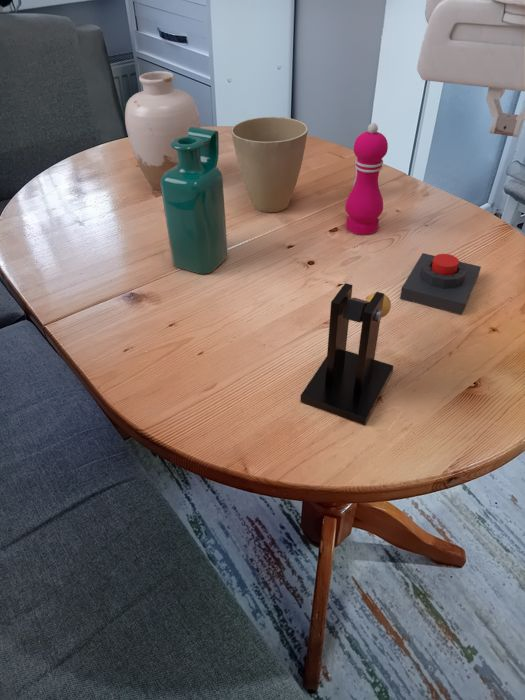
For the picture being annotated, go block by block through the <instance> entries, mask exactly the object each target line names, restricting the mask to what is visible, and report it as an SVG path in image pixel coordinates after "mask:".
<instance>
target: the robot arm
mask: <svg viewBox="0 0 525 700" xmlns="http://www.w3.org/2000/svg"><path fill="white" fill-rule="evenodd" d="M424 15H425V21H426V23H427V26H426V29H425V32H424V36H423V39H422V42H421V47H420V51H419V55H418V59H417V64H416V70H417V72H418V74H419V77H420V78H421V80H422V81H426V82H435V83H444V84H453V85H454V84H455V85H462V86H471V87H472V86H473V87H480V88H481V87H482V88H487V93H486V96H485V100H486V103H487V106H488V109H489V112H490V115H491V117H492V119H491V123H490V127H489V134H493V135H501V136H502V135H503V136H506V137H507V136H508V137H515V138H519V135H520V133H521V130H522V128H523V124H524V121H525V107H523V108H522V110H521V111H520V112H519V113H518V114H516V113H514V114H513V113H507V112H503V108H502V106H501V102H500V100H501V99H502V97H503V96H504V94H505V90H507V91H517V92H525V0H426V5H425V11H424ZM523 102H524V103H525V100H524V101H523Z"/></svg>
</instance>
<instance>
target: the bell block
mask: <svg viewBox="0 0 525 700" xmlns="http://www.w3.org/2000/svg"><path fill="white" fill-rule="evenodd" d="M435 256H436V255H432V254H428V253H423V252H422V253H421V255H420V257H419V258H418V260H417V261H416V263H415V265H414V267H413V268H412V270H411V272H409V275H408V277H406V280H405V281H404V283H403V285H402V286H401V290H400V296H399V299H400V300H404V301H408V302H412V303H416V304H419V305H423V306H427V307H431V308H434V309H438V310H442V311H445V312H448V313H452V314H456V315H460V316H462V315H463V314H464V311H465V309H466V306H467V305H468V302H469V299H470V298H471V295H472V293H473V290H474V289H475V285H476V283H477V281H478V278H479V275H480V272H481V268H482V266H480V265H476V264H472V263H467V262H463V261H460V260H459V265H458V269H457V272H456V273H455V274H453V275H442V274H438V273H436V272H434V271H433V270H432V263H433V258H434V257H435Z"/></svg>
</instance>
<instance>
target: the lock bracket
mask: <svg viewBox="0 0 525 700" xmlns="http://www.w3.org/2000/svg"><path fill="white" fill-rule="evenodd" d="M353 286H354V285H353V284H350V283H347V282H346V283H344V284H343V285H342V287H340V290H339V291H338V292H337V293H336V295H335V296H334V298H333V299H332V300H331V301H330V313H329V324H328V325H329V326H328V337H327V338H328V340H327V353H326V356H325V358H324V360H323V361H322V363H321V364H320V366H319V367H318V369H317V370H316V372H315V373H314V374H313V376H312V378H311V379H310V380H309V382H308V383H307V385H306V387H305V388H304V390H303V391H302V392H301V393H300V400H299V401H300V402H301V404H305V405H308V406H309V407H312V408H316V409H318V410H321V411H324V412H327V413H329V414H331V415H335V416H338V417H340V418H343V419H345V420H349V421H351V422H355V423H357V424H359V425H362V426H366V425H367V423H368V421H369V419H370V417H371V415H372V414H373V411H374V410H375V407H376V405H377V403H378V402H379V399H380V397H381V396H382V394H383V392H384V391H385V388H386V386H387V384H388V383H389V380H390V378H391V376H392V374H393V372H394V367H395V365H394V364H391V363H386V362H384V361H381V360H377V359H375V358H376V351H377V344H378V337H379V330H380V324H381V320H382V318H381V317H382V313H383V312H382V306H383V299H384V294H385V293H384V292H380V291H376V292H374V293H375V295H374V296H373V298H372V299H371V301H370V302H369V304H368V305H367V307H366V308H365V310H364V313H363V321H362V322H361V329H360V335H359V336H360V337H359V345H358V352H357V353H356V352H352V351H349V350H347V342H348V332H349V323H350V320H349V319H345V318H343V313H344V309H345V306H346V302H347V299H348V298H352V295H353Z"/></svg>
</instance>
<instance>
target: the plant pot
mask: <svg viewBox="0 0 525 700" xmlns="http://www.w3.org/2000/svg"><path fill="white" fill-rule="evenodd" d="M308 131H309V127H308V125H307V124H306V123H305V122H303V121H302V120H301V121H300V120H298V119H295V118H291V117H284V116H261V117H254V118H250V119H249V118H248V119H245V120H243V121H240V122H238V123H235V124H234V125H233V126H232V128H231V132H230V133H231V137H232V142H233V147H234V151H235V156H236V160H237V164H238V168H239V171H240V174H241V177H242V181H243V184H244V186H245V189H246V192H247V194H248V196H249V199H250V201H251V203H252V205H253V207H254V208H255V209H256V210H257V211H260V212H263V213H278V212H281V211H283V210H285V209H287V208H288V206H289V204H290V201H291V199H292V196H293V194H294V192H295V188H296V186H297V181H298V179H299V175H300V172H301V168H302V164H303V160H304V154H305V149H306V144H307V138H308V137H307V136H308Z"/></svg>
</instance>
